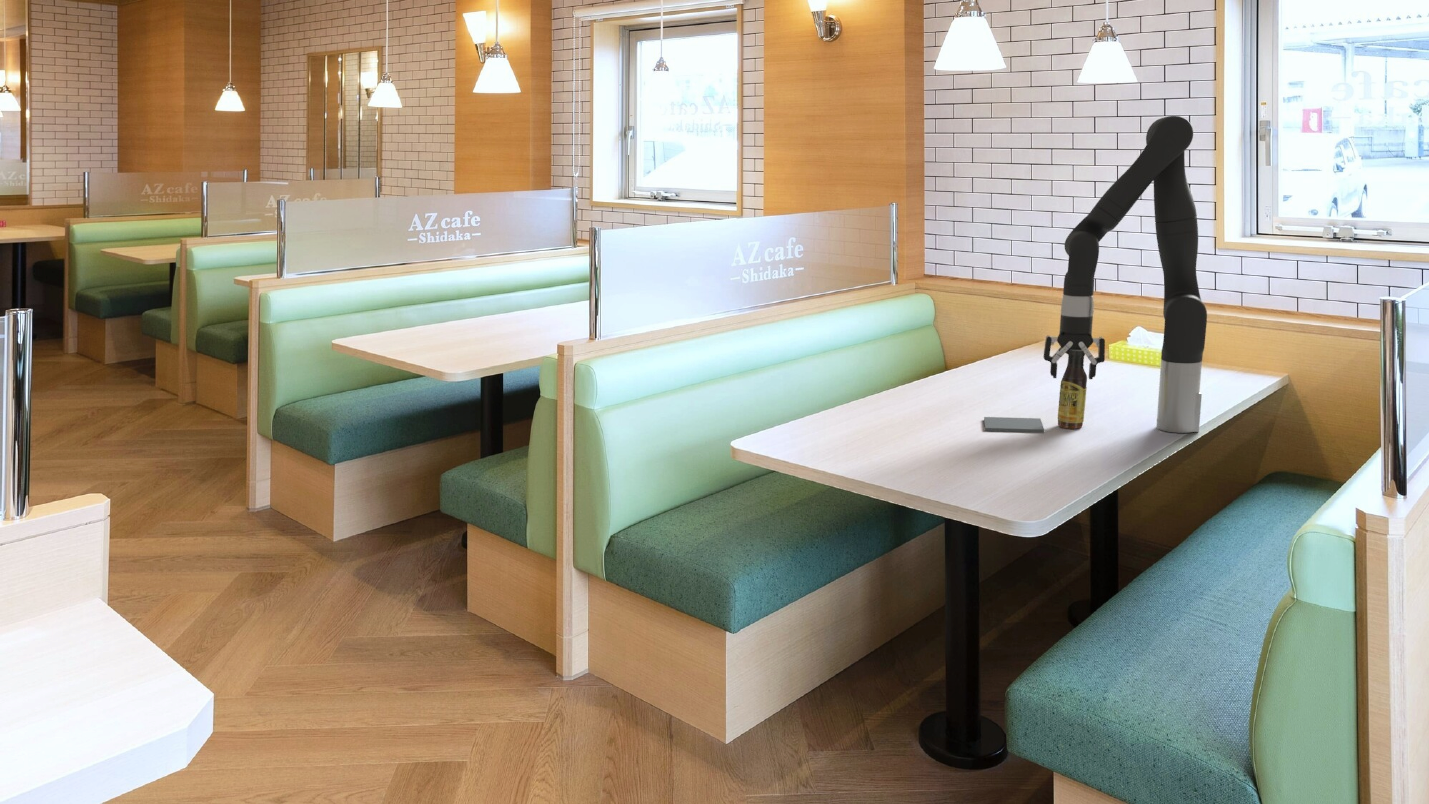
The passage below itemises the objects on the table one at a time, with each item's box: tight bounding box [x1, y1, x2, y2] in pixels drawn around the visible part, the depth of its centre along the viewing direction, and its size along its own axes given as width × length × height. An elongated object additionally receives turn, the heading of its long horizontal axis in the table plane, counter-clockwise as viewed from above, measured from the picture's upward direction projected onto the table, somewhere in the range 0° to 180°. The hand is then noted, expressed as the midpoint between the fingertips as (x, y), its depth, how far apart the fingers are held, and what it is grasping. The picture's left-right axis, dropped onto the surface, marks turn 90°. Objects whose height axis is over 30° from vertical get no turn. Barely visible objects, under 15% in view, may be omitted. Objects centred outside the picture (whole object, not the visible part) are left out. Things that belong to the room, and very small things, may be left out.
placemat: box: [983, 416, 1045, 434], centre depth 276 cm, size 14×12×1 cm
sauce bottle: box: [1057, 349, 1088, 430], centre depth 272 cm, size 6×6×20 cm
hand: (1072, 378), depth 272 cm, fingers open, 8 cm apart
